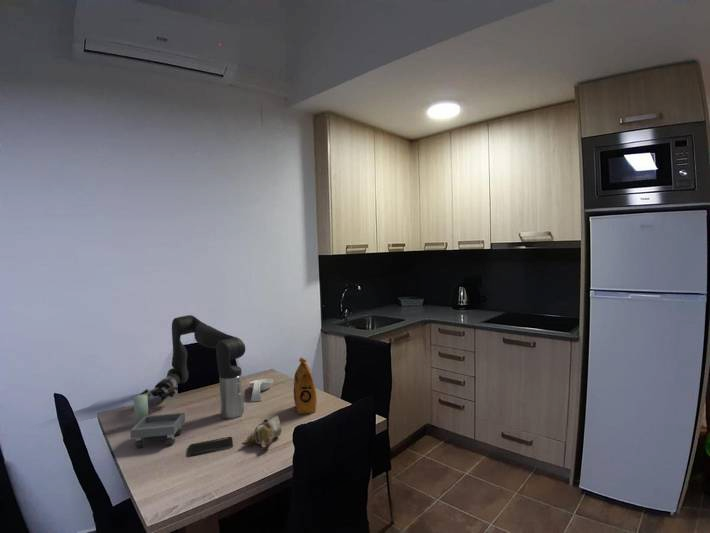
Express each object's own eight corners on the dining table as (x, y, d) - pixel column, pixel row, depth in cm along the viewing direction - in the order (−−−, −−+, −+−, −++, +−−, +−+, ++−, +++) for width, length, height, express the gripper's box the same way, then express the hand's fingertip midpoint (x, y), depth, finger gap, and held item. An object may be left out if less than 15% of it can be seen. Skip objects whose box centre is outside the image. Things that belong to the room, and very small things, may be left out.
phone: (189, 444, 136) (232, 436, 141) (189, 447, 136) (232, 439, 141) (187, 455, 129) (233, 445, 134) (187, 458, 129) (233, 448, 134)
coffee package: (294, 416, 159) (292, 365, 158) (293, 404, 171) (292, 357, 171) (317, 413, 161) (316, 363, 160) (315, 402, 173) (313, 355, 172)
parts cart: (185, 431, 148) (184, 412, 148) (174, 446, 136) (173, 426, 136) (145, 434, 146) (144, 416, 146) (131, 450, 134) (130, 430, 134)
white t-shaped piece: (251, 385, 199) (251, 372, 199) (274, 384, 201) (273, 371, 201) (244, 403, 176) (243, 388, 176) (269, 401, 177) (268, 386, 177)
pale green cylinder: (150, 421, 158) (149, 393, 158) (145, 426, 153) (144, 398, 153) (138, 422, 158) (137, 394, 157) (132, 428, 153) (131, 399, 152)
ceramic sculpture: (288, 413, 141) (262, 433, 128) (290, 435, 142) (264, 457, 129) (266, 409, 146) (238, 428, 133) (268, 430, 147) (241, 451, 133)
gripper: (150, 380, 181) (134, 392, 165) (180, 377, 183) (168, 389, 167) (150, 395, 182) (135, 408, 166) (181, 392, 183) (169, 406, 167)
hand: (152, 399), depth 166 cm, fingers open, 8 cm apart
